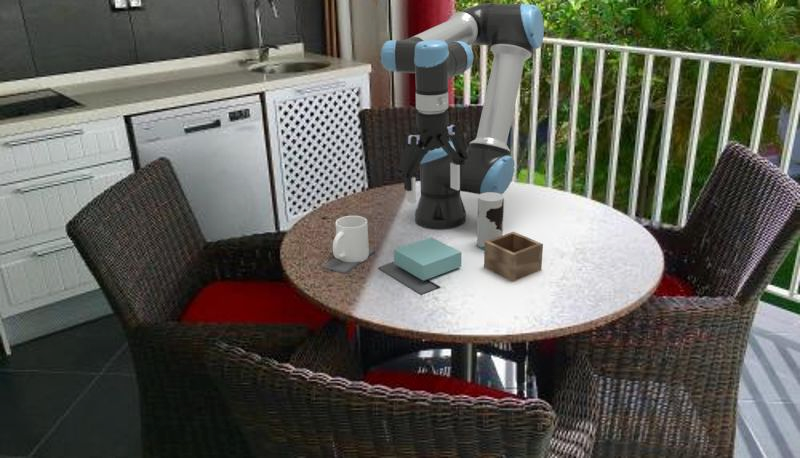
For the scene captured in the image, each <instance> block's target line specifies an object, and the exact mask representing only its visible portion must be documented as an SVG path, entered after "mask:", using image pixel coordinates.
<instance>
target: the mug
mask: <svg viewBox="0 0 800 458" xmlns="http://www.w3.org/2000/svg"><path fill="white" fill-rule="evenodd" d="M368 226H369V225H368V219H367V218H366V217H363V216H360V215H347V216H341V217H340V218H337V219H336V221H335V233H336V234H335V237H334V239H333V242H332V254H333V256H334V258H335V257H336V258H337V259H340V260H342V261H344V262H361V263H363V262H364V261H366V260H367V259H368V258H369V257H370V256H369V248H370V247H369V229H368V228H369V227H368ZM368 256H369V257H368Z"/></svg>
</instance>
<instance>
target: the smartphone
mask: <svg viewBox="0 0 800 458" xmlns="http://www.w3.org/2000/svg"><path fill="white" fill-rule="evenodd" d="M375 252H376V250H375V249H373V248H370V247H369V256H368V258H369V257H371V256H372V255H373V254H375ZM361 263H362V262H344V261H342V260H340V259H337V258H336V257H335V256H334V257H332V258H331V260H328V261H327V262H325V264H323V265H322V270H323V269H324V270H328V271H330V272H331V271H333V272H335V273H339V274H343V275H344V274H348V273H349V272H350V271H352V270H353V269H354V268H356V267H357V266H359V265H360V264H361Z"/></svg>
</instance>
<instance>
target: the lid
mask: <svg viewBox="0 0 800 458" xmlns="http://www.w3.org/2000/svg"><path fill="white" fill-rule="evenodd" d="M393 262H394V264H396V265H397V266H399V267H401V268H403V269H404V270H406V271H408V272H409V273H411V274H413V275H415V276H416V277H418V278H420V279H421V280H423V281H424V280H427V279H428V280H430V279H433V278H434V277H437V276H439V275H443V274H445V273H448V272H450V271H454V270H456V269H459V268H461V267H462V251H461V250H460V251H459V250H458V249H456V248H454V247H452V246H450V245H448V244H446V243H444V242H442V241H440V240H438V239H436V238H434V237H433V236H431V237H426V238H424V239H420V240H418V241H415V242H413V243H409V244H406V245H403V246H400V247H397V248H393Z"/></svg>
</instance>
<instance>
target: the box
mask: <svg viewBox="0 0 800 458" xmlns="http://www.w3.org/2000/svg"><path fill="white" fill-rule="evenodd" d="M543 249H544V243H542V242H539V241H536V240H534V239H532V238H529V237H527V236H525V235H523V234H520V233H518V232H515V231H511V232H508V233H505V234H503V236H500V237H497V238H494V239H491V240H488V241H486V242H485V248H484V250H483V251H484V256H483V258H484V261H483V262H484V263H483V268H484V269H486V270H489V271H490V272H492V273H494V274H497V275H498V276H500V277H502V278H505V279H506V280H508V281H510V282H512V283H514V282H515V281H518V280H520V279H523V278H525V277H527V276H530V275H533V274H536V273H537V272H539V271H542V268H543V267H542V266H543V265H542V264H543Z"/></svg>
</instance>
